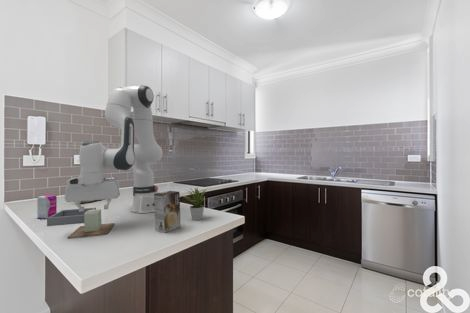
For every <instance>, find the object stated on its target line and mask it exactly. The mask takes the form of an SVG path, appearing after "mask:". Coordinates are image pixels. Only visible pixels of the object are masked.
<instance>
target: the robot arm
mask: <svg viewBox="0 0 470 313" xmlns="http://www.w3.org/2000/svg"><path fill="white" fill-rule="evenodd" d="M154 97H155V96H154V92H153V90H152V88H151V87H150V86H148V85H129V86H123V87H116V88H115V89H112V90H111V93H110V95H109V97H108V99H107V102H106V106H105V110H104V117H105V120H106V121H107V122H108V123H109V124H111V126H113V127H116V128H118V129H120V132H121V136H120V137H121V139H120V146H119V147H118V148H109V147H106V146H104V145H103V144H102V142H101V141H98V140H92V141H85V142H83V143H81V145H80V147H79V157H78V159H79V165H80V172H79V175H78V176H75V177H73V178H70V179H67V181H66V185H67V186H66V187H65V191H64V200H65V202H66V203H75V204H74V205H75V206H76V207H77V209H79V212H82V211H84V209H85V206H82V205H81V204H82V203H81V201H90V200H94V201H100V200H102V201H103V200H106V202H107V203H106V204H104V205H103V210H108V209H109V206H110V203H111V202H112V199H113V200H114V199H118V198H119V197H120V194H121V193H120V192H121V191H120V179H118V177H105V170H118V171H119V170H120V171H128V170H130V169H132V173H133V175H132V176H133V186H132V195H133V201H132V206H131V212H133V213H140V214H148V213H155V202H154V194H156V193H160V192H159V191H158V190H159V186H158V185H156V184H155V175H154V174H155V173H154V171H153V170H152V169H151V168H150V165H149V163H151V164H152V163H156V162H159V161H160V160H161V159H162V158H163V154H164V152H163V149H162V147H161V146H160V145H159V144H158V143H157V141H156V137H155V135H154V121H153V117H154V116H153V111H152V107H151V106H152V104H153V101H154ZM132 109H133V110H132ZM131 112H132V117H131ZM135 137H136V139H137V141H138V144H137V143H136V144H135Z"/></svg>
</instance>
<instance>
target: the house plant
mask: <svg viewBox="0 0 470 313" xmlns="http://www.w3.org/2000/svg"><path fill="white" fill-rule="evenodd" d="M209 188H210V187H207V188H203V189H201V190H199V188H198V187H195V188H194V190H193V189H192V188H190V190H191V191H192V192H191V191H190V190H186V189H185V192H187V194H188V195H190V196H186V195H181V197H183V198H184V199H186V200H184V202H183V203H185V202H186V201H187V202H190V203H191V204H192V205H190V206H189V209H190V214H191V220H193V221H200V220H203V216H204V208H205V205H203V204H202V203H203V202H205V201H207V198H205V197H204V196H205V195H206V192H207V190H208V189H209Z"/></svg>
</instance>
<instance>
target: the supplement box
mask: <svg viewBox="0 0 470 313" xmlns="http://www.w3.org/2000/svg"><path fill="white" fill-rule="evenodd" d="M57 198H58V197H57V195H51V194H46V195H42V196H40V195H39V196H37V210H36V211H37V219H38V220H47V218H49V217H50V216H52V215H54V214H56V213H58V211H57V206H58V205H57Z"/></svg>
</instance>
